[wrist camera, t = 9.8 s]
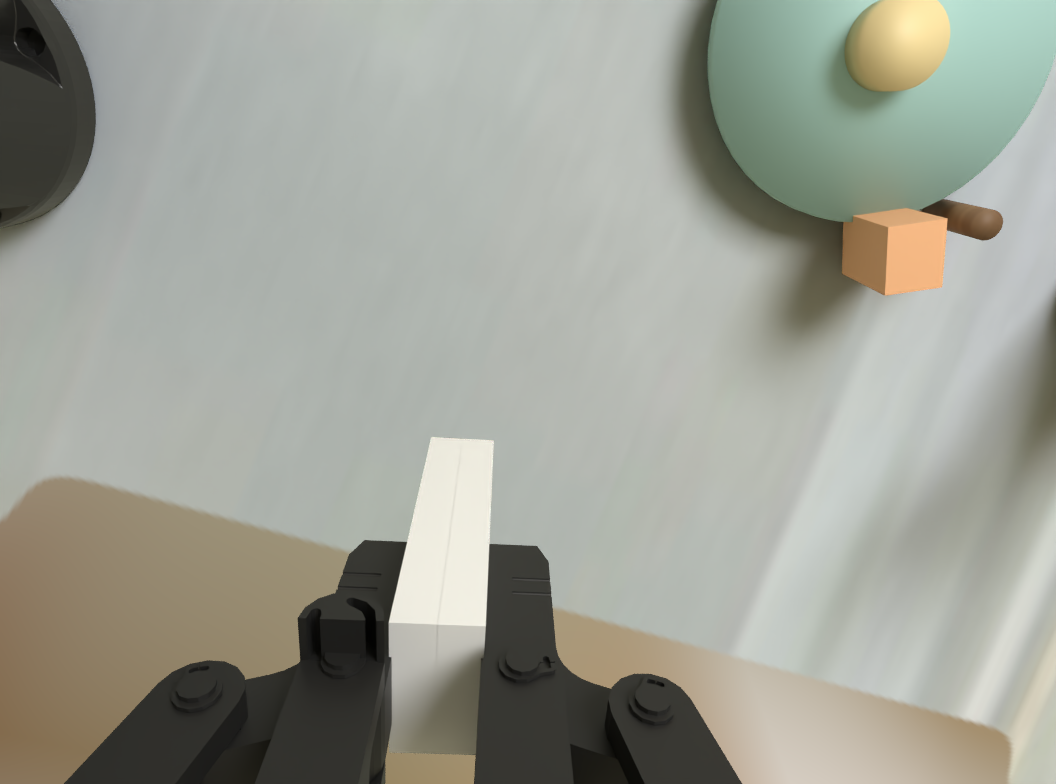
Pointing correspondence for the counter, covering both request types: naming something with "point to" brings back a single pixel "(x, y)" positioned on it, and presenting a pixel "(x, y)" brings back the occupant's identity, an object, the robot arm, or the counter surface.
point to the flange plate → (876, 112)
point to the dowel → (967, 219)
